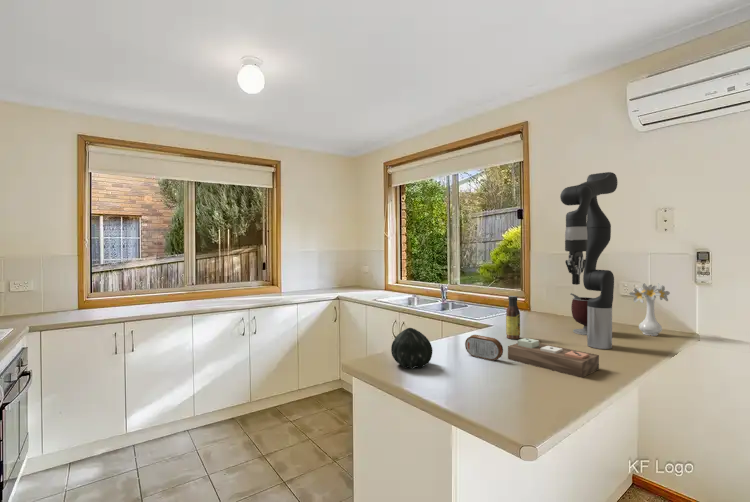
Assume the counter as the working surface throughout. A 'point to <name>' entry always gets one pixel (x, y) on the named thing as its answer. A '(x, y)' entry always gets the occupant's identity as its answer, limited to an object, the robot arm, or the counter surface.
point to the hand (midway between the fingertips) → (575, 284)
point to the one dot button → (551, 349)
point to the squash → (411, 349)
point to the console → (554, 360)
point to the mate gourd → (580, 312)
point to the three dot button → (577, 355)
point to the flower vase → (650, 307)
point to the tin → (484, 347)
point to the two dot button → (528, 343)
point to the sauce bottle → (513, 319)
